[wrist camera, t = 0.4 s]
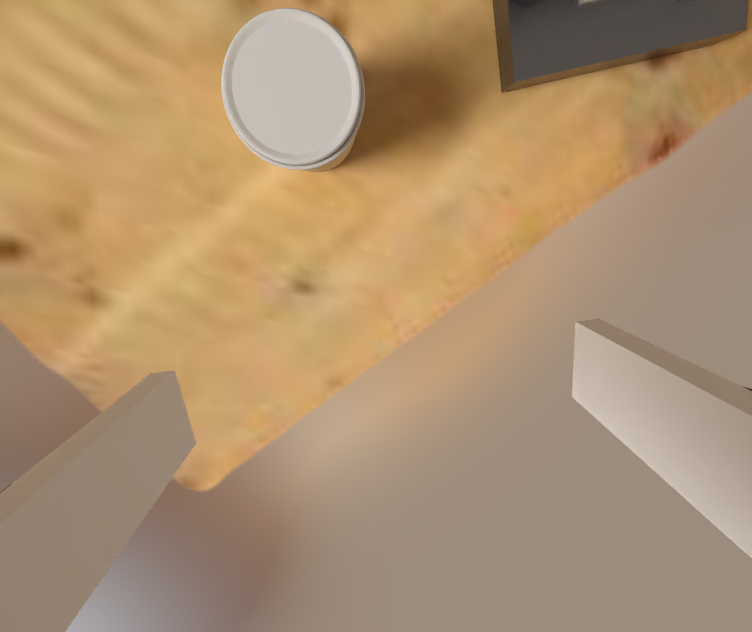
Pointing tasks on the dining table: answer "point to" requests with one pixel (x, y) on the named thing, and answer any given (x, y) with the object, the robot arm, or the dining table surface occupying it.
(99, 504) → the robot arm
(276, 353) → the dining table surface
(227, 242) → the dining table surface
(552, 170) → the dining table surface
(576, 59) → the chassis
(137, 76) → the dining table surface
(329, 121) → the coffee cup
